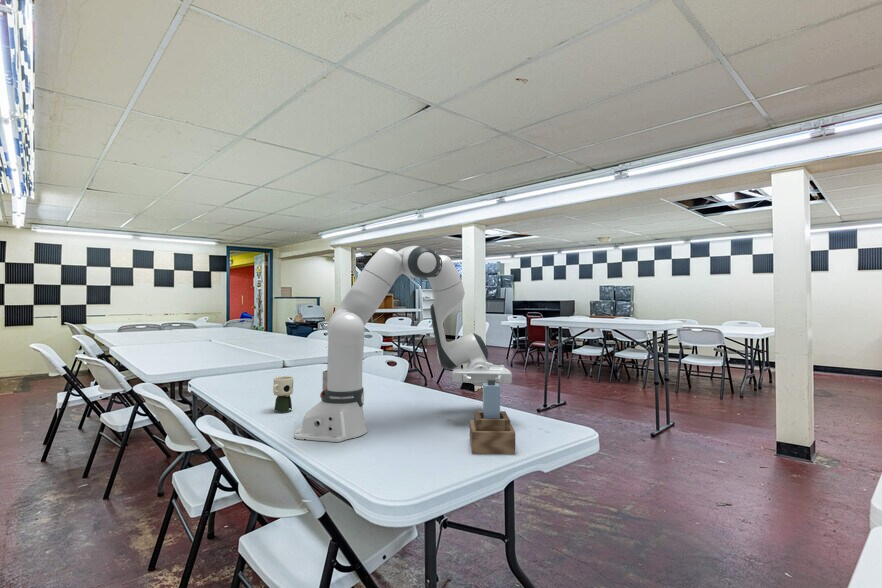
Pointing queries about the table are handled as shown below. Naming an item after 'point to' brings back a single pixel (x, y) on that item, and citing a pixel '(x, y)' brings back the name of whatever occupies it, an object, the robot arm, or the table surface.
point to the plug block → (491, 400)
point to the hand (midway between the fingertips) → (483, 380)
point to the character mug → (283, 393)
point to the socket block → (492, 435)
